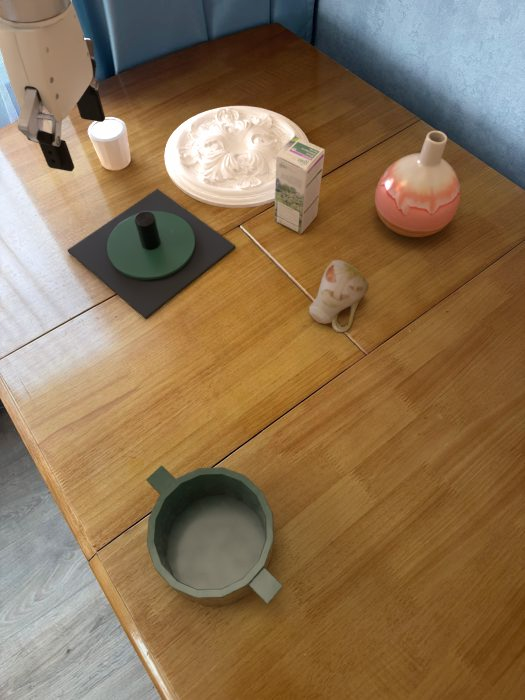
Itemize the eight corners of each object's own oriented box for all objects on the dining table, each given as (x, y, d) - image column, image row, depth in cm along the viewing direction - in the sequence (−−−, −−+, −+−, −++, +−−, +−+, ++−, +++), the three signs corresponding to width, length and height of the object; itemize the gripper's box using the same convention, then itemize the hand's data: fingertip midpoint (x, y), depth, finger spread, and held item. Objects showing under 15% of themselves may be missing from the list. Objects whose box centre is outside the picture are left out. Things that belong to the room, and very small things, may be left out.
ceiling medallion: (262, 230, 92) (262, 217, 89) (135, 171, 99) (131, 157, 97) (336, 139, 104) (338, 125, 101) (218, 93, 111) (217, 79, 109)
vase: (380, 186, 97) (402, 99, 82) (454, 206, 95) (491, 119, 80) (360, 238, 91) (380, 154, 76) (438, 261, 88) (475, 178, 73)
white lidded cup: (90, 159, 101) (80, 127, 95) (121, 143, 103) (112, 111, 97) (110, 178, 98) (101, 146, 92) (141, 161, 101) (133, 129, 95)
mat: (145, 319, 82) (145, 317, 82) (68, 252, 89) (67, 249, 89) (235, 248, 90) (235, 245, 89) (157, 190, 97) (157, 188, 96)
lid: (147, 297, 84) (139, 269, 78) (90, 249, 89) (78, 220, 83) (213, 246, 89) (210, 216, 83) (156, 203, 94) (149, 173, 88)
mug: (294, 319, 83) (306, 259, 78) (331, 305, 89) (344, 249, 84) (331, 339, 79) (346, 278, 74) (367, 324, 85) (383, 266, 80)
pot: (232, 651, 60) (228, 650, 51) (124, 532, 66) (105, 514, 58) (310, 558, 65) (318, 543, 56) (203, 456, 71) (195, 429, 63)
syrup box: (318, 215, 94) (327, 147, 81) (300, 236, 91) (306, 168, 79) (290, 202, 95) (295, 133, 83) (272, 222, 93) (274, 154, 80)
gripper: (33, -51, 56) (78, 97, 71) (-53, 34, 48) (18, 183, 62) (99, -42, 56) (131, 106, 70) (24, 46, 47) (78, 194, 61)
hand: (78, 142), depth 66 cm, fingers open, 9 cm apart
